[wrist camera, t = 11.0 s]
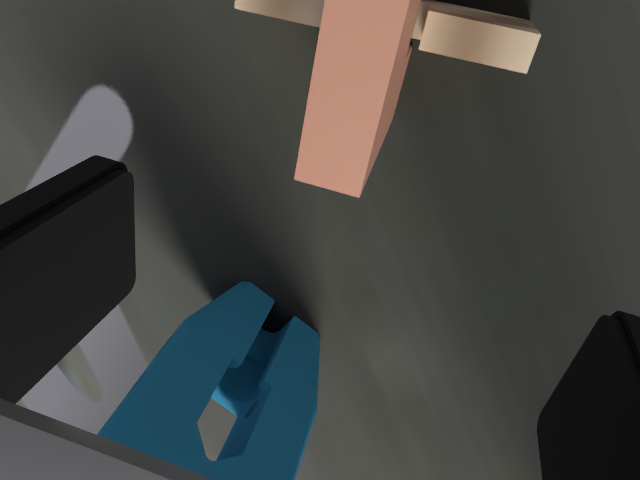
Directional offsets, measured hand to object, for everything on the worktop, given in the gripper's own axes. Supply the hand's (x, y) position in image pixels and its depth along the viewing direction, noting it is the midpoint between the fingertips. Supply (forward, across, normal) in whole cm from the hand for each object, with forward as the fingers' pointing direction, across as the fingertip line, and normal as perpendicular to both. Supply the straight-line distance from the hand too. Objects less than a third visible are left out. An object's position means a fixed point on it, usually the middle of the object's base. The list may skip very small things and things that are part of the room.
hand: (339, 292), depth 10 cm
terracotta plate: (+24, +3, -2) cm, 24 cm away
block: (+24, +7, +24) cm, 35 cm away
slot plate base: (+24, +3, -2) cm, 24 cm away
